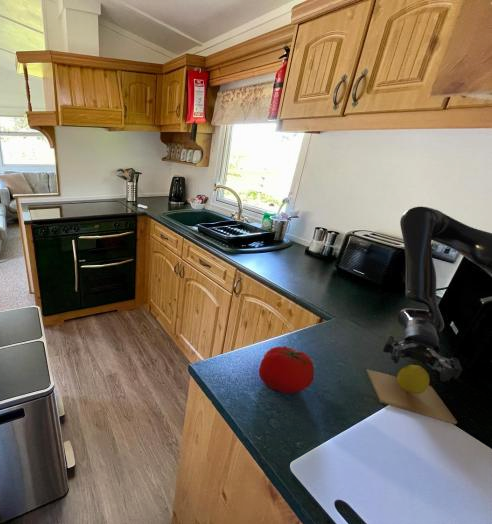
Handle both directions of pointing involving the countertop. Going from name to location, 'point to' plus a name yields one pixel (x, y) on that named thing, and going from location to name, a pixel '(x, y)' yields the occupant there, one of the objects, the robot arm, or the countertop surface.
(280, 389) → the tomato
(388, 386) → the board
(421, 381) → the lemon
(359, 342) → the countertop surface
